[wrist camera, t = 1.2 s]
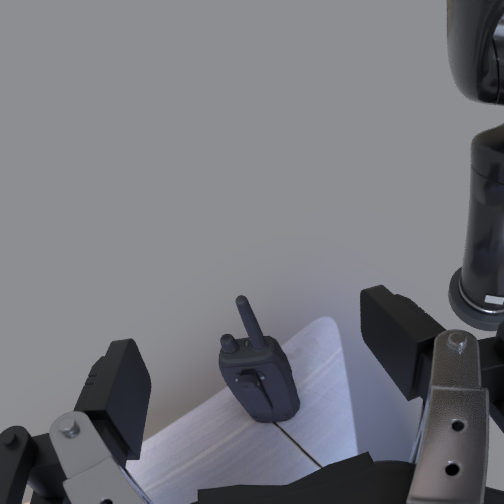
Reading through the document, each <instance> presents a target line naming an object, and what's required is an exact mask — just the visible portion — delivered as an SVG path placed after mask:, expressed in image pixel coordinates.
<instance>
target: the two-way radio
mask: <svg viewBox="0 0 504 504" xmlns="http://www.w3.org/2000/svg"><path fill="white" fill-rule="evenodd" d="M236 305H237V307H238V310H239V313H240V315H241V318H242V321H243V323H244V326H245V328H246V331H247V333H248V336H249V338H242V339H236V340H235V339H234V337H233V336H232V335H230V334H225V335H223V336H222V337H221V339H220V342H221V346H222V348H221V350H220V354H219V367H220V371H221V373H222V376H223V378H224V380H225V382H226V383H227V385H228V387H229V388H230V390H231V391H232V393H233V394H234V396H235V397H236V398H237V399H238V401H239V402H240V403H241V405H242V406H243V407H244V408H245V410H246V411H247V412H248V413H249V415H250V416H251V417H252V418H253V419H254V420H256V421H258V422H278V421H285V420H288V419H290V418H292V417H293V416H295V414H296V412H297V411H298V410H299V405H300V401H299V398H298V394H297V390H296V386H295V383H294V380H293V377H292V370H291V367H290V364H289V362H288V359H287V357H286V354H285V353H284V352H283V351H282V349H281V347H280V345H279V344H278V342H277V341H276V339H274V338H272V337H270V336H263V334H262V331H261V329H260V327H259V325H258V322H257V320H256V318H255V315H254V313H253V311H252V309H251V306H250V304H249V302H248V300H247V298H246V297H245V296H242V295H241V296H238V297H237V298H236Z"/></svg>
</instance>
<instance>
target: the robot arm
mask: <svg viewBox="0 0 504 504" xmlns="http://www.w3.org/2000/svg"><path fill="white" fill-rule="evenodd" d="M503 16H504V0H447V48H448V58H449V64H450V69H451V73H452V76H453V79H454V82H455V84H456V86H457V88H458V89H459V91H460V92H461V93H462V94H463V95H464V96H465V97H466V98H468V99H469V100H471V101H475V102H478V103H483V104H489V105H500V106H504V17H503ZM470 151H471V153H470V156H471V160H470V162H471V175H470V200H469V214H468V225H467V235H466V243H465V250H464V258H463V265H462V270H461V275H460V278H459V284H458V290H459V294H460V296H461V298H462V300H463V301H464V302H465V303H466V304H467V305H468V306H469V307H470V308H471V309H473V310H475V311H477V312H479V313H481V314H485V315H491V316H497V315H502V314H504V123H503V124H501V125H499V126H497V127H494V128H491V129H489V130H486V131H483V132H481V133H478V134H477V135H476V136H475V137H474V138H473V139H472V142H471V149H470ZM360 307H361V308H360V310H361V332H362V337H363V340H364V341H365V343H366V345H367V346H368V347H369V349H370V350H371V351H372V353H373V354H374V355H375V357H376V358H377V359H378V361H379V362H380V363H381V365H382V366H383V368H384V369H385V370H386V372H387V373H388V374H389V376H390V377H391V378H392V380H393V381H394V382H395V384H396V385H397V386H398V388H399V389H400V391H401V392H402V393H403V395H404V396H405V398H406V399H407V400H408V401H410V400H412V399H415V398H417V397H419V396H420V397H421V398H422V399H423V403H422V407H421V412H420V418H419V422H418V427H417V432H416V437H415V441H414V445H413V449H412V453H411V456H410V460H409V462H404V461H392V460H386V461H375V462H373V460H372V458H371V456H370V454H369V452H366V453H363V454H360V455H357V456H354V457H351V458H348V459H345V460H342V461H339V462H336V463H333V464H329V465H327V466H325V467H323V468H321V469H319V470H317V471H315V472H313V473H311V474H309V475H307V476H305V477H303V478H301V479H299V480H297V481H295V482H293V483H290V484H288V485H234V486H227V487H219V488H210V489H200V490H198V501H196V502H193V503H191V504H504V491H501V490H497V489H493V488H489V487H486V486H485V485H486V476H487V465H488V448H489V415H490V416H491V417H492V419H493V420H494V421H495V423H496V424H497V425H498V426H499V428H500V429H501V430H502V432H503V433H504V321H503V322H501V323H500V324H499V326H498V329H497V333H496V337H491V338H486V339H481V340H477V339H476V338H475V337H474V336H473V335H472V334H471V333H469V332H466V331H463V330H446V329H445V328H443V327H442V326H441V325H440V324H439V323H438V322H437V321H435V320H434V319H433V318H432V317H431V316H430V315H428V314H427V313H425V312H424V310H422V309H421V308H420V307H418V306H417V305H416V304H415V303H414V302H413V301H411V299H409V298H407V297H404V296H401V295H399V294H396V295H394V294H392V293H391V292H390V291H389V290H388V289H386V287H384V286H383V285H378V286H374V287H371V288H367V289H363V290H362V291H361V294H360ZM88 376H89V378H87V380H86V382H85V386H84V387H83V389H82V392H81V394H80V396H79V398H78V401H77V404H76V406H75V408H74V411H73V412H68V413H66V414H63V415H62V416H60V417H59V418H57V419H56V420H55V421H54V423H53V424H52V426H51V428H50V431H49V433H46V434H42V435H38V436H34V437H31V435H30V434H29V433H28V431H27V430H26V429H25V428H24V427H22V426H12V427H9V428H8V429H6V430H4V431H3V432H2V433H1V434H0V504H22V499H23V495H24V491H25V488H26V485H27V484H28V485H29V486H30V487H31V488H32V489H33V490H34V491H33V495H32V499H31V502H30V504H154V503H153V502H152V501H151V500H150V498H149V497H148V496H147V495H146V493H145V492H144V491H143V490H142V488H141V487H140V486H139V485H138V483H137V482H136V481H135V479H134V478H133V477H132V476H131V474H130V473H129V471H128V470H127V469H126V468H125V466H126V461H127V460H139V459H140V452H141V446H142V439H143V432H144V427H145V421H146V415H147V409H148V404H149V398H150V393H151V379H150V376H149V373H148V370H147V368H146V366H145V363H144V361H143V359H142V357H141V354H140V352H139V350H138V347H137V345H136V343H135V341H134V340H133V339H124V340H118V341H112V342H111V344H110V346H109V348H108V351H107V353H106V355H105V356H102V357H101V358H100V359H99V360H98V361H97V362H96V363H95V364H94V365H93V366H92V369H91V371H90V373H89V375H88Z"/></svg>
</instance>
